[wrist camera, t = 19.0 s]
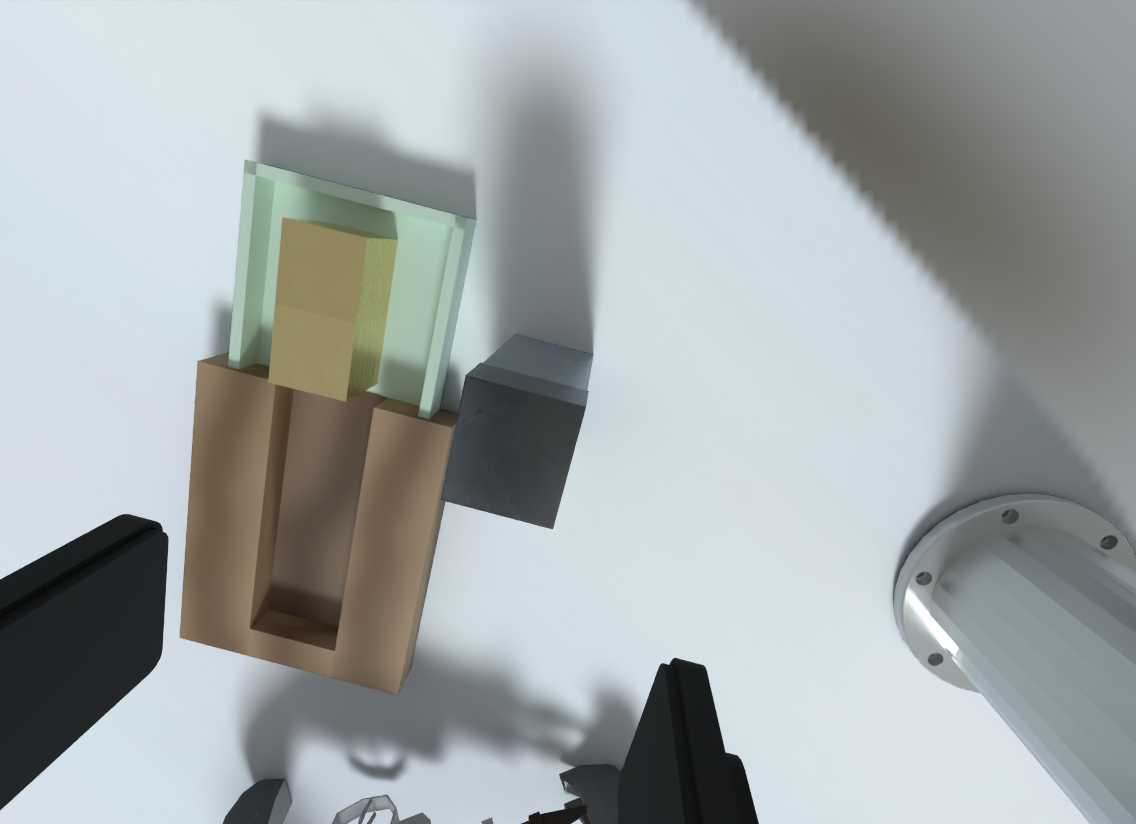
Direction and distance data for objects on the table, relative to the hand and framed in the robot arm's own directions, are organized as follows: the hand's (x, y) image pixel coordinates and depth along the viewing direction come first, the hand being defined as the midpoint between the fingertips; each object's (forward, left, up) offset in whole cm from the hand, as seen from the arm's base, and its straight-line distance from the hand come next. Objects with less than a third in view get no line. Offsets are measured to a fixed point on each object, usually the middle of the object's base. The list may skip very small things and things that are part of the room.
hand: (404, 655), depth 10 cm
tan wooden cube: (+11, -4, -22) cm, 25 cm away
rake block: (0, 0, -22) cm, 22 cm away
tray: (+11, -2, -22) cm, 25 cm away
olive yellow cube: (+11, 0, -22) cm, 25 cm away
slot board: (+11, +12, -22) cm, 28 cm away
